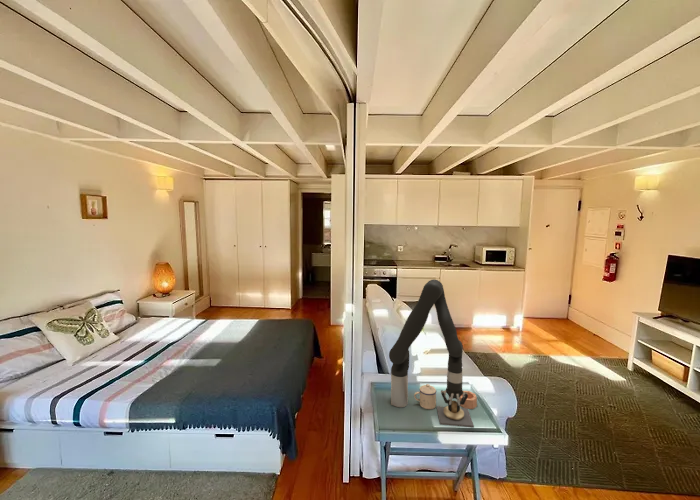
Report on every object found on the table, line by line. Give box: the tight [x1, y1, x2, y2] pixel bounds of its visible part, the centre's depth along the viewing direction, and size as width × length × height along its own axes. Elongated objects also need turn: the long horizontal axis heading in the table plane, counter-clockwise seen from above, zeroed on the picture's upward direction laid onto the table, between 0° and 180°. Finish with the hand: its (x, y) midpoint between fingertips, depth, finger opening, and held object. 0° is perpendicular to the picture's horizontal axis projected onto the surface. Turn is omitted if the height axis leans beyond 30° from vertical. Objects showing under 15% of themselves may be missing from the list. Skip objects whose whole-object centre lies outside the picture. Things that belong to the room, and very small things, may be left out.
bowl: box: [459, 390, 478, 410], centre depth 169 cm, size 9×9×5 cm
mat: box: [436, 405, 475, 428], centre depth 158 cm, size 16×14×1 cm
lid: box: [444, 399, 464, 420], centre depth 158 cm, size 10×10×6 cm
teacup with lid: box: [413, 383, 437, 410], centre depth 169 cm, size 12×9×12 cm
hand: (453, 410), depth 158 cm, fingers closed on lid, 3 cm apart
